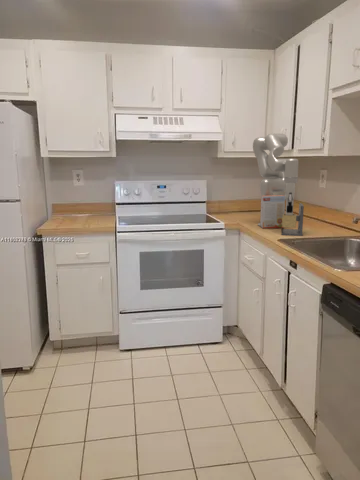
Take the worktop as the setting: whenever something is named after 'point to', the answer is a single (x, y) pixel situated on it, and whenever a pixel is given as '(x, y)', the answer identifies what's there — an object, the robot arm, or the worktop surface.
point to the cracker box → (272, 211)
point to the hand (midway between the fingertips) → (289, 211)
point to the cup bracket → (293, 223)
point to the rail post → (286, 207)
